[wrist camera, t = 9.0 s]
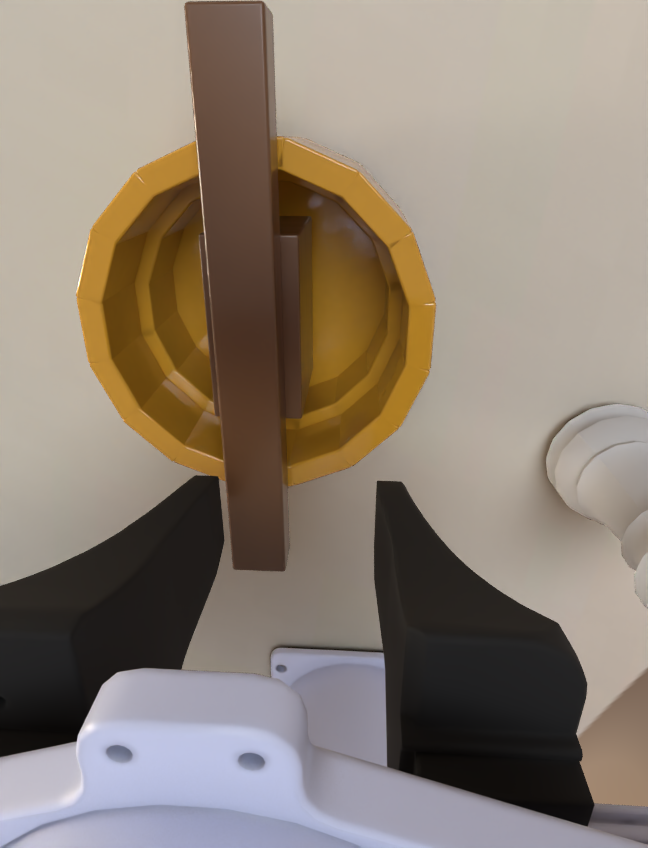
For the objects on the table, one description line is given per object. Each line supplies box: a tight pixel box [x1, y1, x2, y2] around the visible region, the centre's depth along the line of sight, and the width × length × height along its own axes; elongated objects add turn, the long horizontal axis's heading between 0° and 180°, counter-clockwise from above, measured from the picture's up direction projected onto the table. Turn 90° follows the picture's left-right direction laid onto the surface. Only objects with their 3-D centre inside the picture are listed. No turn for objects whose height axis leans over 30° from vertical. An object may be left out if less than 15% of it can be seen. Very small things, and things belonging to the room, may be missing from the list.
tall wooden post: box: [184, 1, 313, 572], centre depth 17 cm, size 14×2×5 cm, turn 0°
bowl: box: [76, 136, 436, 486], centre depth 18 cm, size 9×9×6 cm
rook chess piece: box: [546, 404, 648, 608], centre depth 19 cm, size 4×4×8 cm
